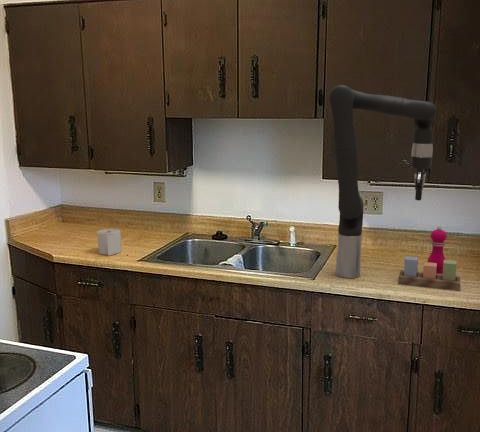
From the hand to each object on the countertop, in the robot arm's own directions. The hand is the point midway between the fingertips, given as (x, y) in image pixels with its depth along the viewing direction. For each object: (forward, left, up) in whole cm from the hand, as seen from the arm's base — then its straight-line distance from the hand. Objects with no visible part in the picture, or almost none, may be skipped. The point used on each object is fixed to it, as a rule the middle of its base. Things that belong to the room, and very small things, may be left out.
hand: (418, 200), depth 210 cm
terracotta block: (+6, -5, -31) cm, 32 cm away
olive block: (+13, -5, -29) cm, 32 cm away
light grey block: (-136, -10, -32) cm, 140 cm away
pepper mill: (+8, +9, -32) cm, 34 cm away
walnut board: (+6, -5, -32) cm, 33 cm away
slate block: (-1, -5, -29) cm, 30 cm away
